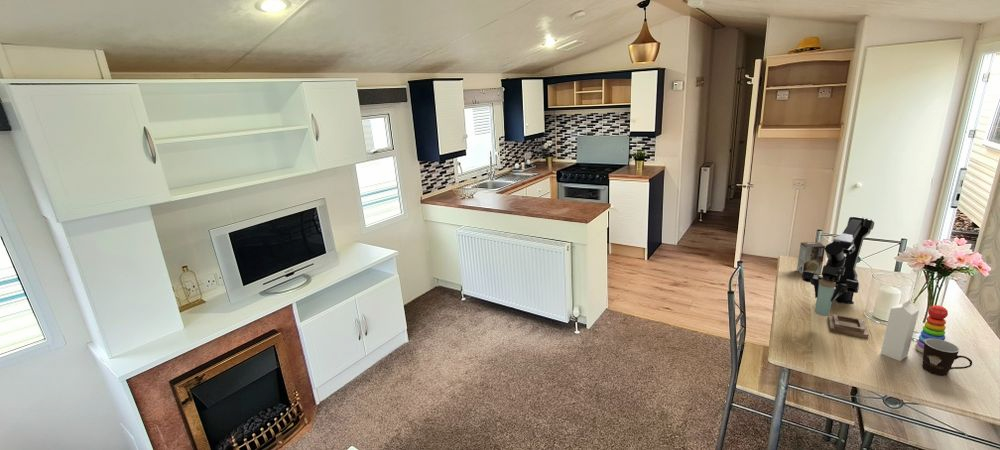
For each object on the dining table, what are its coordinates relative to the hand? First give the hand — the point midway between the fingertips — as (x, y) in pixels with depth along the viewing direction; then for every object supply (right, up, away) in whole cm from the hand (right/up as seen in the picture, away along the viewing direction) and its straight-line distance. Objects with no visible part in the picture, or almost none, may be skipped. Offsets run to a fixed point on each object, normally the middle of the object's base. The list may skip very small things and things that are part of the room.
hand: (823, 299), depth 178 cm
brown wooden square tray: (+12, -12, +3) cm, 18 cm away
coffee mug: (+21, -21, -26) cm, 39 cm away
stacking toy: (+29, -17, -14) cm, 36 cm away
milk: (+15, -18, -15) cm, 28 cm away
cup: (+1, -6, +3) cm, 7 cm away
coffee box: (+33, +5, +56) cm, 65 cm away
